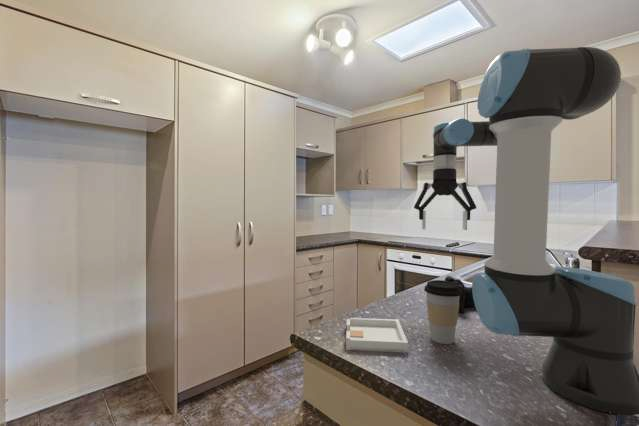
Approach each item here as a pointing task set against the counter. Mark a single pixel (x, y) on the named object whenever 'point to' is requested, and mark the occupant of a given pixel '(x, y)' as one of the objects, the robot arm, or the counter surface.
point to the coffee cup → (442, 309)
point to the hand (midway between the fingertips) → (444, 229)
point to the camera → (463, 294)
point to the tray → (375, 335)
